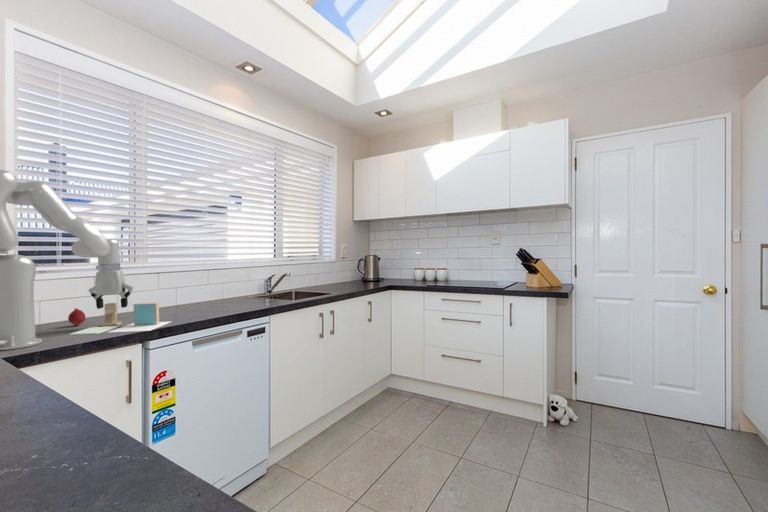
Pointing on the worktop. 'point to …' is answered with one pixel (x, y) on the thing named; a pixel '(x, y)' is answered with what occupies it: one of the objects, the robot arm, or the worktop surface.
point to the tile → (146, 314)
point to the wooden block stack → (110, 315)
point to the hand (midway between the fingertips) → (112, 307)
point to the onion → (76, 317)
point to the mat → (139, 327)
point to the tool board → (93, 330)
